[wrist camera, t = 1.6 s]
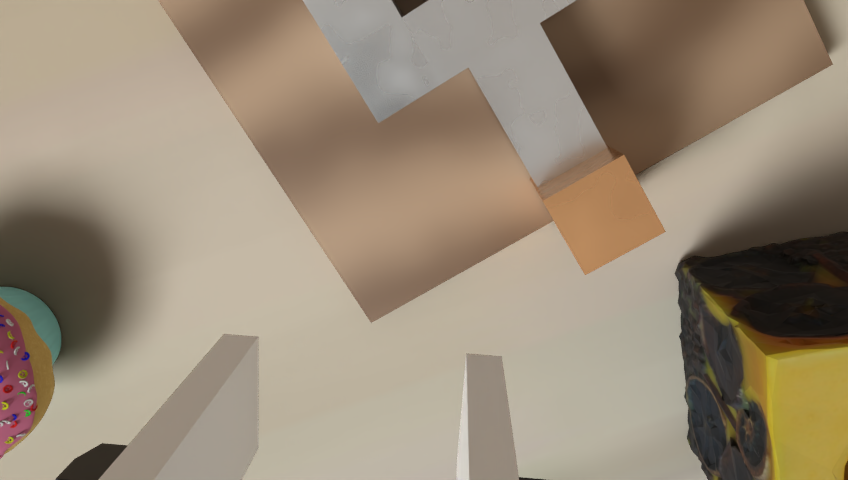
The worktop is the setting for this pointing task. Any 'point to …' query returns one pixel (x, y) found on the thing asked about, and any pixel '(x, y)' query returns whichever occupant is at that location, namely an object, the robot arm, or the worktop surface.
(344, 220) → the base board
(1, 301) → the cupcake
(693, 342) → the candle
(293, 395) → the worktop surface
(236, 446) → the robot arm
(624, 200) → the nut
